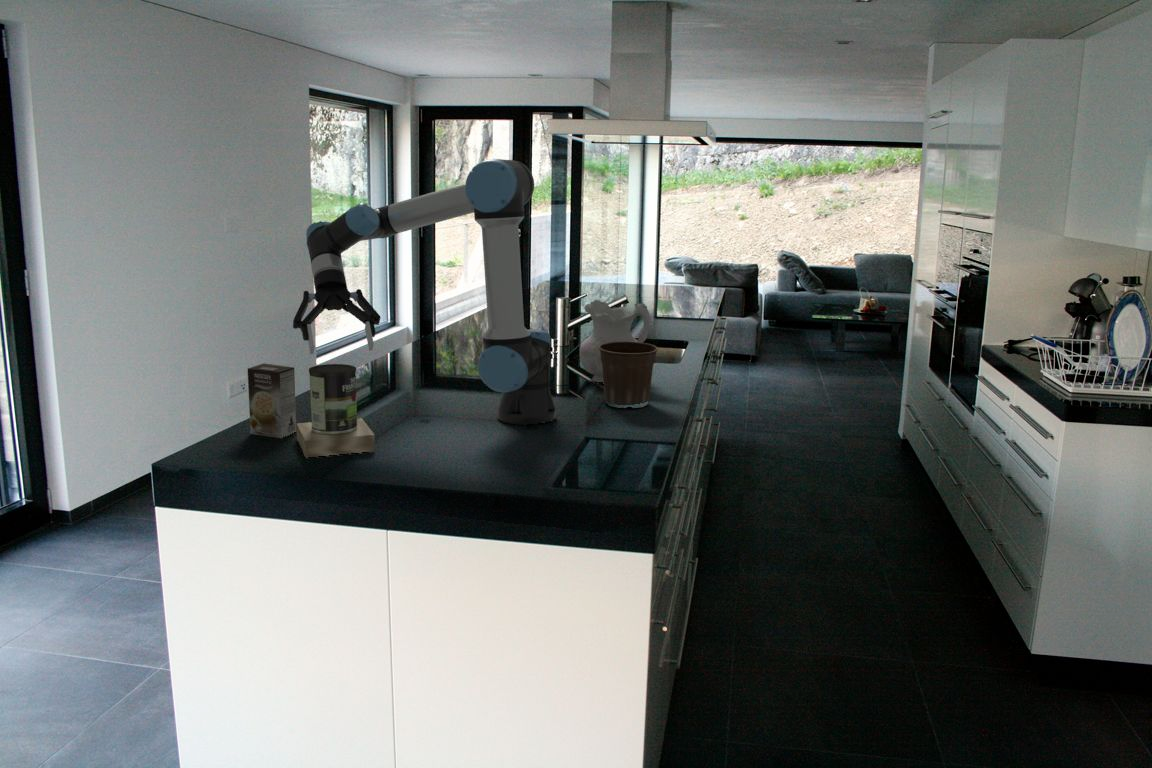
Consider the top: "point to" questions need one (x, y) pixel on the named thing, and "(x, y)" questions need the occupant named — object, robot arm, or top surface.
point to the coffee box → (272, 400)
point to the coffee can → (333, 398)
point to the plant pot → (627, 371)
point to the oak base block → (335, 441)
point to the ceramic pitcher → (609, 332)
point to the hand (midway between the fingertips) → (342, 349)
